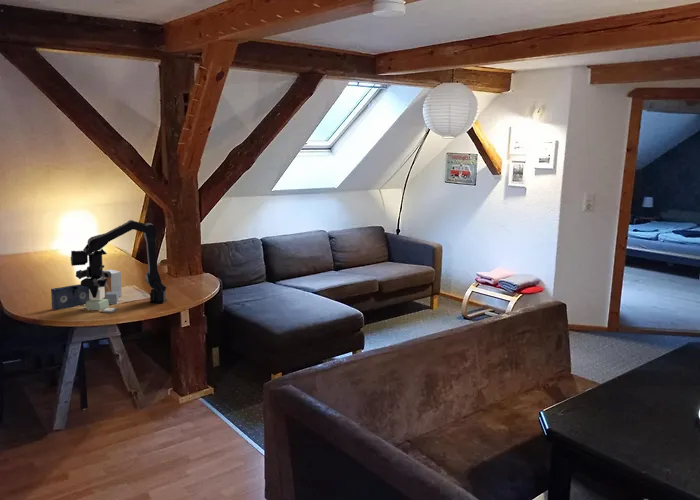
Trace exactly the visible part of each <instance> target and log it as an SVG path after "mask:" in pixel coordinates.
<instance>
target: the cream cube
mask: <svg viewBox="0 0 700 500" xmlns="http://www.w3.org/2000/svg"><path fill="white" fill-rule="evenodd" d="M105 298H106V297H105V287H99V288H98V292H97V295H96V298H93V296H92V293H91V291H90V289H89V299H92V300H101V299H105Z"/></svg>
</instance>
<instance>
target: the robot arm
mask: <svg viewBox="0 0 700 500" xmlns="http://www.w3.org/2000/svg"><path fill="white" fill-rule="evenodd" d="M133 230H135V231H137V232H141V233H142V234H143V237H144V240H145V242H146V243H145V246H146V256H147V258H146V259H147V266H148V267H147V268H148V270H147V272H145V273H144V276H145V280H144V281H145V282H146V284H148V285H149V287H150V288H151V289H150V292H149V303H151V304H163V303H165V302H166V301H167V300H168V299H167V298H166V297H167V296H166V295H167V293H166V290H167V286H165V284H163V282H162V279H161V275H160V273H159V270H158V263H157V262H158V261H157V249H156V247H157V246H156V241H157V237H158V228H157V226H155V225H154V224H153V223H151V222H145V223H144V222H139V221H134V220H133V219H130V220H128V221H127V222H124V223H123V224H120V225H119V226H117V227H114V228H112V229H111V230H109V231H107V232H105V233H102V234H97V235H94V236H90V237H89V238H88V240H87V242H86V245H85V247H84V248H83V249H82V250H71V251H70V265H71V266H72V267H73V266H76V267H77V266H86V264H87V263H88V266H87V267H86V269H84V270H82V269H78V270H76V271H75V277H76V278H77V279H78V280H81V279H82V278H83V279H82V280H81V281H80V284H81V286H87V287H89V289H90V291H91V293H92V296H93V298H96V295H97V292H98V288H99V287H105V285H106V283H107V281H108V279H105V277H107V278H110V277H111V273H110V272H109V271H105V270H103V269H104V268H105V264H103V255H107V252H106V251H105V250H104V249H103V248H104V247H106V245H107V244H109V243H110V242H111V241H113V240H115V239H117V238H119V237H120V236H123V235H125V234H127V233H129V232H131V231H133Z"/></svg>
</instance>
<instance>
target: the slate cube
mask: <svg viewBox="0 0 700 500" xmlns="http://www.w3.org/2000/svg"><path fill="white" fill-rule="evenodd" d="M104 298H105V299H108V302H109V305H117V304H118V303H117V302H119V297H118V291H117V292H107V293H106V294H105V297H104Z"/></svg>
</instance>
